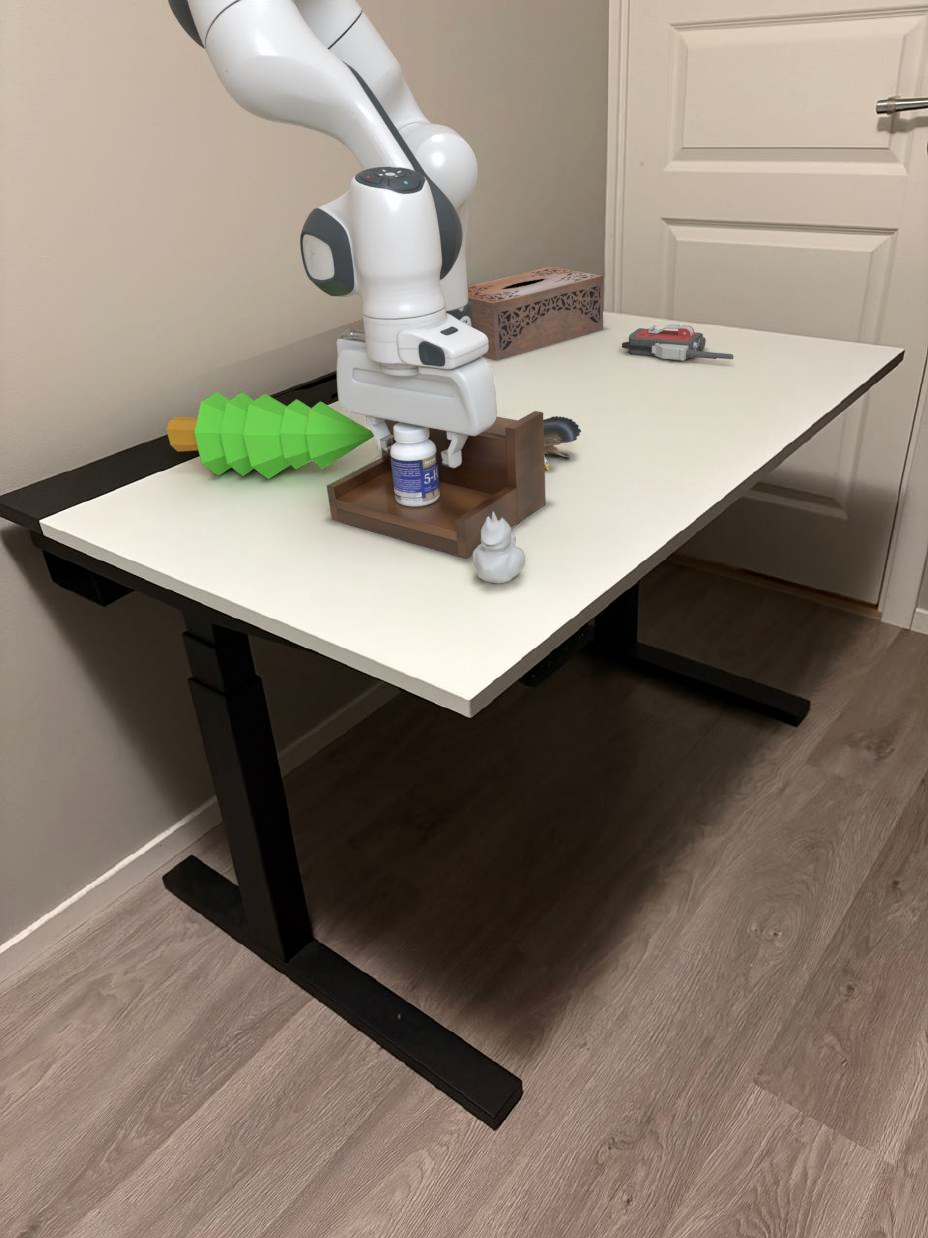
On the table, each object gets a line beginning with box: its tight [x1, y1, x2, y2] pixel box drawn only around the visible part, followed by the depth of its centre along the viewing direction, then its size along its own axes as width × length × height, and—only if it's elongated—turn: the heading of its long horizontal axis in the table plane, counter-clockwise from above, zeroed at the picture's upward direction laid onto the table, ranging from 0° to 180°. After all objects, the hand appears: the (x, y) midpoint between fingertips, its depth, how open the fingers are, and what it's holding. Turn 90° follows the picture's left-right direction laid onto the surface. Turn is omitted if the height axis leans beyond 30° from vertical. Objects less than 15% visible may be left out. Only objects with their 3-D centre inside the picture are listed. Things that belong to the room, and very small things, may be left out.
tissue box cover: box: [467, 265, 604, 362], centre depth 175 cm, size 26×14×10 cm, turn 127°
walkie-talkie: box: [621, 323, 734, 362], centre depth 160 cm, size 9×4×20 cm
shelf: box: [326, 410, 547, 559], centre depth 111 cm, size 16×20×12 cm
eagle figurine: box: [543, 415, 582, 471], centre depth 123 cm, size 8×7×9 cm
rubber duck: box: [471, 512, 526, 584], centre depth 97 cm, size 5×7×8 cm
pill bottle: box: [390, 422, 440, 507], centre depth 108 cm, size 5×5×9 cm
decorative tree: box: [165, 391, 375, 480], centre depth 126 cm, size 11×12×30 cm
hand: (419, 458), depth 108 cm, fingers open, 8 cm apart
